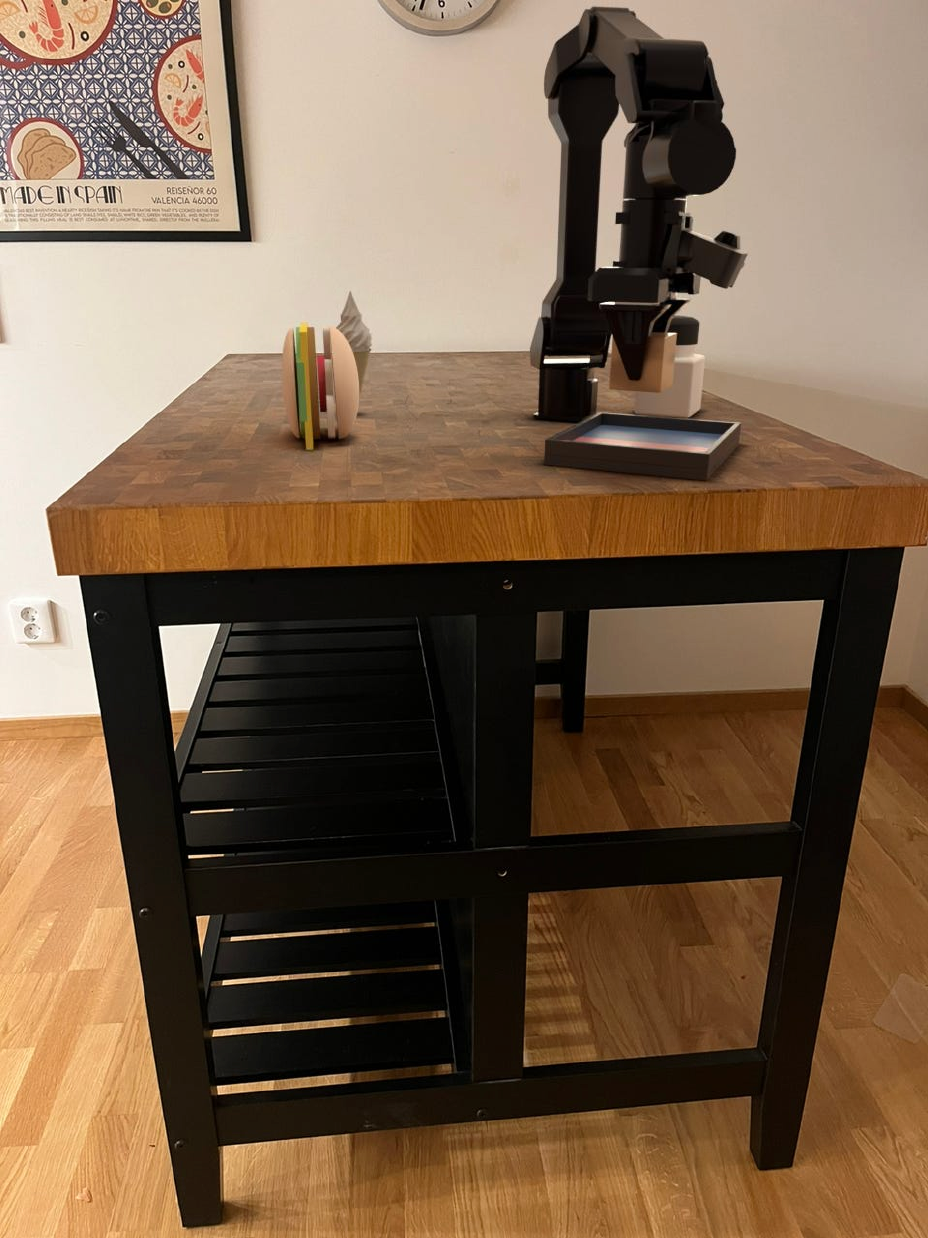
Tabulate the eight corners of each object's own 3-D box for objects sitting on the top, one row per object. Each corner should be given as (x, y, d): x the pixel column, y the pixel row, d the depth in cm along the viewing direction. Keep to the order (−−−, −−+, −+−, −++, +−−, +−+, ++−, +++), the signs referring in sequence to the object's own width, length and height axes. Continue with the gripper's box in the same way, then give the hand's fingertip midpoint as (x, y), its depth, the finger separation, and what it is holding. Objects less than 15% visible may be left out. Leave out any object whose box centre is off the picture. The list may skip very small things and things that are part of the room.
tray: (544, 464, 92) (545, 439, 91) (597, 433, 107) (598, 411, 106) (706, 480, 86) (709, 454, 85) (738, 445, 101) (741, 422, 100)
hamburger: (363, 448, 99) (359, 331, 95) (284, 450, 98) (276, 332, 94) (358, 427, 110) (354, 322, 106) (287, 429, 109) (280, 322, 105)
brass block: (608, 389, 89) (612, 335, 87) (622, 382, 93) (626, 330, 91) (660, 392, 87) (665, 337, 85) (672, 385, 91) (677, 333, 90)
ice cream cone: (367, 418, 116) (362, 291, 110) (328, 417, 117) (322, 291, 111) (378, 412, 121) (375, 290, 115) (341, 410, 122) (336, 289, 116)
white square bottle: (700, 410, 123) (709, 315, 118) (688, 418, 117) (698, 318, 112) (647, 406, 125) (654, 313, 121) (633, 414, 119) (640, 316, 115)
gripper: (727, 194, 73) (706, 395, 79) (761, 203, 89) (742, 370, 95) (590, 196, 77) (581, 387, 83) (646, 204, 93) (635, 364, 99)
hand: (641, 376), depth 90 cm, fingers closed on brass block, 5 cm apart
